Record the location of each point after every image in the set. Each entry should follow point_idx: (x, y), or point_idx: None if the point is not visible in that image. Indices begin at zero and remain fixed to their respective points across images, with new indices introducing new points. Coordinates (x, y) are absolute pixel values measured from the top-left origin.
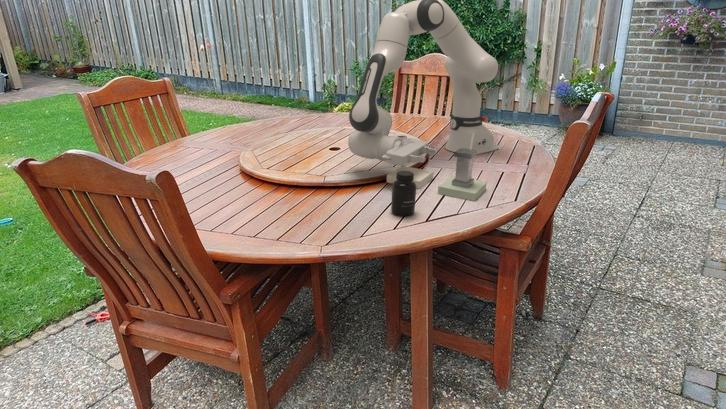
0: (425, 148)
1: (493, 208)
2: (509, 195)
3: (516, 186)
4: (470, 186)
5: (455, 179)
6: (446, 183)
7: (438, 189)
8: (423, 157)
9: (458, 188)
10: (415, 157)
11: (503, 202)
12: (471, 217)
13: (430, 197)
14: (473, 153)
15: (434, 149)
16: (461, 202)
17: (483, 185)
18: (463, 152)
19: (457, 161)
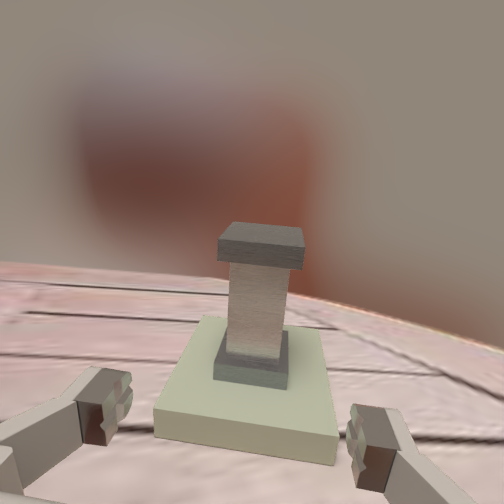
0: (6, 471)
1: (330, 320)
2: None
3: (159, 294)
4: None
5: (279, 360)
6: (277, 411)
7: (336, 447)
8: (390, 408)
9: (307, 366)
10: (453, 495)
11: None
12: (425, 347)
13: None
14: (280, 226)
15: (93, 372)
16: (351, 375)
17: None
18: (290, 235)
19: (287, 286)
